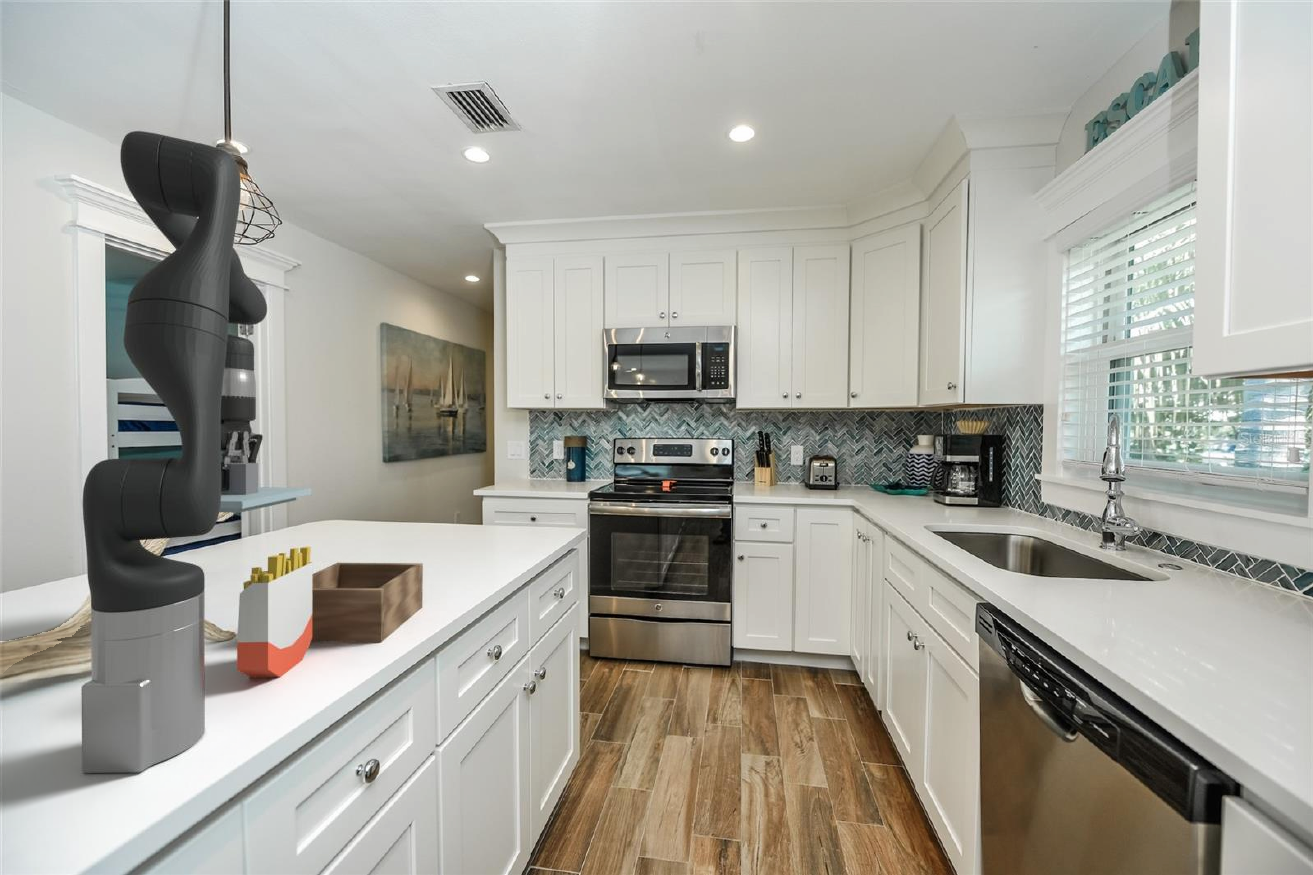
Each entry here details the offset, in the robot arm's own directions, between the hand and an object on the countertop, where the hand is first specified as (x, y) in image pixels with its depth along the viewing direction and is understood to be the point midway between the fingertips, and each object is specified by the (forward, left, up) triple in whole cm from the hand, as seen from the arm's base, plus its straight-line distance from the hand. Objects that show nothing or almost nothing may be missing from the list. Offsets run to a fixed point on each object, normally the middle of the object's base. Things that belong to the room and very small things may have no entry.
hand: (229, 488), depth 94 cm
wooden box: (+1, -22, -25) cm, 34 cm away
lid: (0, 0, -2) cm, 2 cm away
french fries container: (-17, -20, -25) cm, 36 cm away
